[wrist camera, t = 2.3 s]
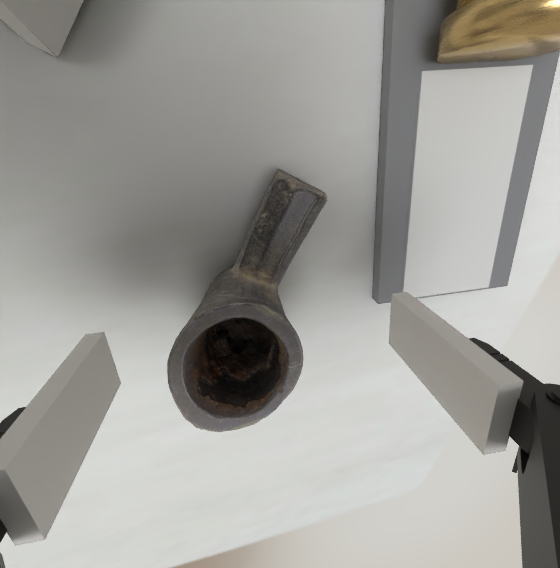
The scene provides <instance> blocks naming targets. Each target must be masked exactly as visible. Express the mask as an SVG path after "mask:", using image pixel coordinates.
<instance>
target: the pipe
mask: <svg viewBox="0 0 560 568" xmlns="http://www.w3.org/2000/svg"><path fill="white" fill-rule="evenodd" d="M326 201H327V196H326V194H325V193H324V192H322V191H321V190H319V189H317V188H315V187H312V186H310V185H308V184H307V183H305V182H303V181H301V180H299V179H297V178H295V177H293V176H291V175H289V174H288V173H286V172H284V171H282V170H280V169H278V170H277V172H276V174H275V175H274V177H273V179H272V181H271V183H270V185H269V187H268V189H267V191H266V193H265V196H264V198H263V200H262V202H261V205H260V207H259V209H258V212H257V214H256V216H255V218H254V220H253V222H252V225H251V227H250V229H249V231H248V233H247V235H246V237H245V240H244V243H243V245H242V248H241V250H240V253H239V255H238V257H237V260H236V262H235V264H234V266H233V267H232V268H230V269H228V270H226V271H224V272H222V273H221V274H220V275H219V276H218V277H216V278H215V280H214V281H213V282H212V283H211V285H210V287H209V289H208V291H207V293H206V294H205V296H204V298H203V300H202V302H201V303H200V305H199V307H198V308H197V310H196V311H195V313H194V314H193V316H192V317H191V319H190V320H189V321H188V323H187V324H186V326H185V327H184V328H183V329H182V331H181V332H180V334H179V335H178V337H177V338H176V340H175V343H174V345H173V347H172V349H171V352H170V355H169V359H168V364H167V373H168V384H169V388H170V391H171V393H172V396H173V399H174V401H175V403H176V405H177V406H178V408H179V410H180V412H181V413H182V415H183V417H184V418H185V419H186V420H187V421H189V422H191V423H192V424H193V425H194V426H195V427H196V428H200V429H201V430H202V429H204V430H208V431H215V432H223V431H229V430H236V429H240V428H243V427H247V426H250V425H253V424H255V423H257V422H258V421H260V420H261V419H263V418H265V417H267V416H268V415H269V414H271V413H272V412H273V411H274V410H276V409H277V407H278V406H279V405H280V404H281V403H282V401H283V400H284V399H285V398H286V397H287V396H288V395H289V394H290V393H291V391H292V390H293V389H294V387H295V385H296V383H297V381H298V379H299V376H300V374H301V370H302V366H303V350H302V346H301V342H300V339H299V337H298V335H297V333H296V331H295V329H294V328H293V327H292V325H291V324H290V322H289V321H288V319H287V317H286V316H285V313H284V310H283V307H282V304H281V302H280V298H279V295H278V290H277V287H278V284H279V283H280V281H281V279H282V277H283V275H284V273H285V271H286V270H287V268H288V266H289V264H290V262H291V260H292V259H293V257H294V255H295V254H296V252H297V250H298V248H299V247H300V245H301V243H302V242H303V240H304V238H305V237H306V235H307V233H308V232H309V230H310V228H311V226H312V224H313V223H314V221H315V219H316V218H317V216H318V214H319V213H320V211H321V210H322V208H323V206H324V205H325V203H326Z"/></svg>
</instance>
